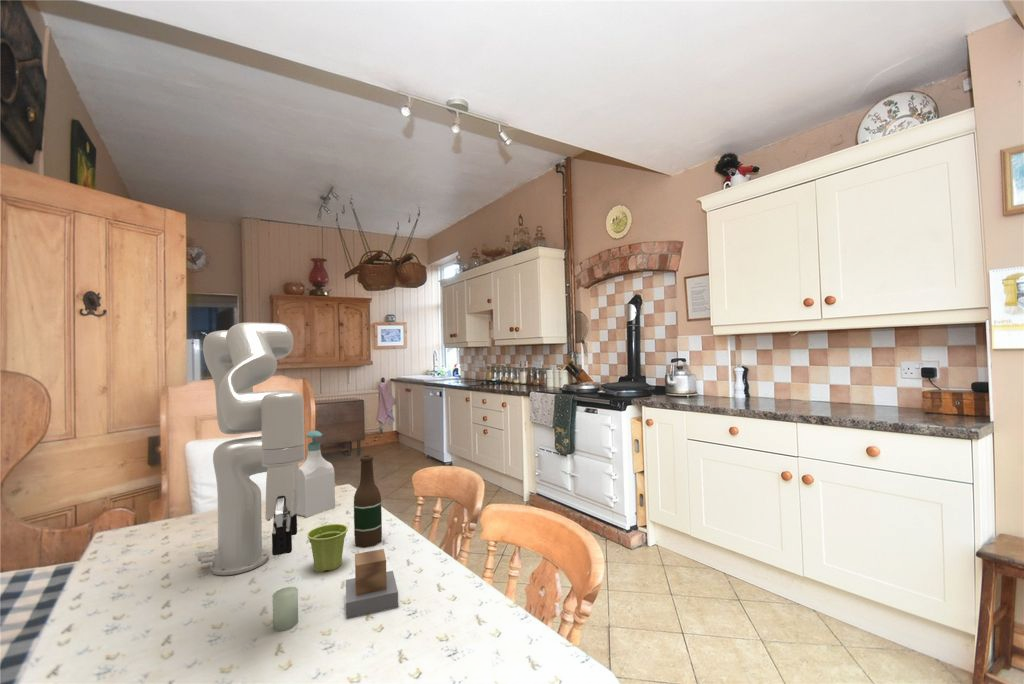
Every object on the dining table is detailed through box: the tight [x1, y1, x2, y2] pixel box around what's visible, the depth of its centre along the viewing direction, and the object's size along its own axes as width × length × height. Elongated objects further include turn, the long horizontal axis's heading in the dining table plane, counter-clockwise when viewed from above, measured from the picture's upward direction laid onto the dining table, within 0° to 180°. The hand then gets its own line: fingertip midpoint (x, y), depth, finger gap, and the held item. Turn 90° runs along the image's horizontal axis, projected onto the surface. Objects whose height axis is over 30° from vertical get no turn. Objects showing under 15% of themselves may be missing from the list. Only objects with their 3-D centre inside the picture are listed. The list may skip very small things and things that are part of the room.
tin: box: [272, 586, 299, 632], centre depth 86 cm, size 4×4×6 cm
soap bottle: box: [296, 430, 336, 518], centre depth 151 cm, size 11×8×27 cm
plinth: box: [345, 570, 399, 620], centre depth 93 cm, size 10×10×3 cm
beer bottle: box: [353, 454, 383, 549], centre depth 124 cm, size 8×8×24 cm
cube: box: [354, 548, 387, 596], centre depth 94 cm, size 6×6×6 cm
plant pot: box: [306, 523, 349, 572], centre depth 110 cm, size 9×9×9 cm
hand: (285, 544), depth 86 cm, fingers open, 9 cm apart
